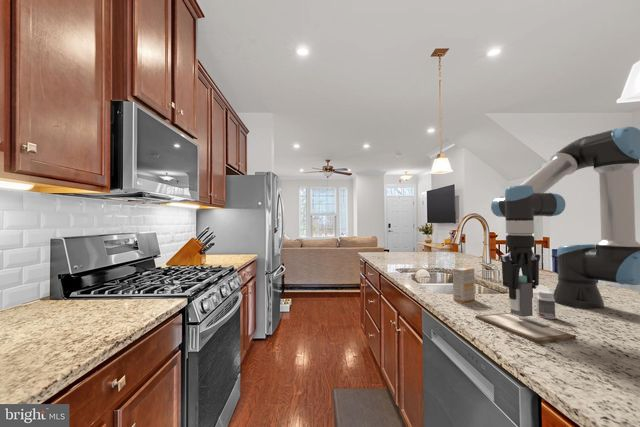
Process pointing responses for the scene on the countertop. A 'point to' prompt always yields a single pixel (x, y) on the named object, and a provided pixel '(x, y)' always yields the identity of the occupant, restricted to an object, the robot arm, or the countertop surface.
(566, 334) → the brown rectangular tray
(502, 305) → the countertop surface
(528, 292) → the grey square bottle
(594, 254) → the robot arm
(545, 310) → the pill bottle
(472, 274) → the supplement box
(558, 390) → the countertop surface
